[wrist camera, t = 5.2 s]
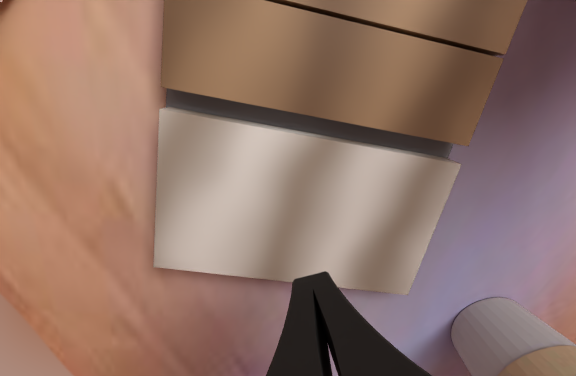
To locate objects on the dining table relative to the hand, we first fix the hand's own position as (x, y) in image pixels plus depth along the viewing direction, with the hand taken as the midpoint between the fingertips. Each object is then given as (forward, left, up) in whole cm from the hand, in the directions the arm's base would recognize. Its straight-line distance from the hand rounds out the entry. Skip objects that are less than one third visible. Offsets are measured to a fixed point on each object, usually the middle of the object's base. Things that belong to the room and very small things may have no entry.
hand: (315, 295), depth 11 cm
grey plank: (0, -1, -7) cm, 7 cm away
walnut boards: (0, -11, -7) cm, 13 cm away
